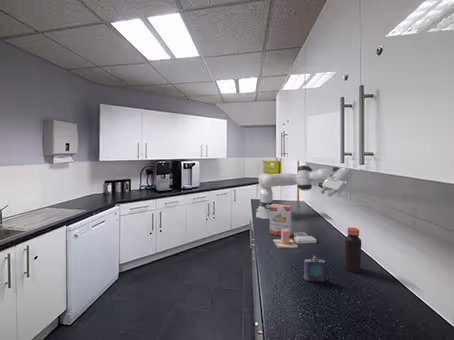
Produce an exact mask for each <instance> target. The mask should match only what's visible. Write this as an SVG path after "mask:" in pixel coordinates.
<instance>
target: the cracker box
mask: <svg viewBox="0 0 454 340" xmlns="http://www.w3.org/2000/svg"><path fill="white" fill-rule="evenodd" d="M281 229H288V230H289V238H290V237H291V236H292V205H289V204H277V203H273V204H271V205H270V219H269V235H274V236H280V237H281Z"/></svg>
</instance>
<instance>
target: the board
mask: <svg viewBox="0 0 454 340" xmlns="http://www.w3.org/2000/svg"><path fill="white" fill-rule="evenodd" d="M272 241H273V243H274V244H275V246H276V247H277V248H278V249H279V250H280V249H298V248H299V246H298V243H297V242H296V241H295V240H294V239H292V238H289V244H283V243H282V242H281V238H279V239H278V238H275V239H273V240H272ZM296 243H297V244H296Z"/></svg>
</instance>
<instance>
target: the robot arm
mask: <svg viewBox="0 0 454 340" xmlns="http://www.w3.org/2000/svg"><path fill="white" fill-rule="evenodd" d="M353 171H354V170H351V169H345V168H338V167H334V166H332V171H331V170H330V169H328V168H319V169H316V170H313V168H311V167H310V166H309V165H305V164H301V165H300V166H298V167H297V174H296V173H285V172H284V173H273V174H271V173H270V174H269V173H266V172H264V173H261V174H260V175H258V187H259V206H258V208H256V212H255V213H256V214H255V217H256V218H258V219H263V220H270V205H271V204H274V202H273V200H274V199H273V198H274V197H273V194H274V193H273V190H272V188H273V187H280V186H281V187H283V186H284V187H285V186H288V187H289V186H290V187H291V186H296V187H297V188H298V189H299V190H300V191H305V192H307V191H310V190H311V189H312V188H313V183H312V182H314V183H317V184H318V183H319V184H320V183H322V184H321V186H322V189H321V191H320V193H321V194H322V195H323V194H325V193H326V191H327V190H328V191H330V192H327V193H328V194H327V196H328V197H331V196H333V195H336V193H337V194H341V193H343V191H344V190H345V189H346V188H347V187H348V186H347V184H348V181H349V180H350V178H351V176H352V175H353Z"/></svg>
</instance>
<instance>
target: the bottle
mask: <svg viewBox="0 0 454 340" xmlns="http://www.w3.org/2000/svg"><path fill="white" fill-rule="evenodd" d="M359 236H360V229H359V228H357V227H347V236H345V238H344V269H345V271H348V272H351V273H354V272H355V274H357V273H356V272H358V273H360V272H361V271H362V270H361V269H362V265H361V264H362V239H361V238H360V237H359Z"/></svg>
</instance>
